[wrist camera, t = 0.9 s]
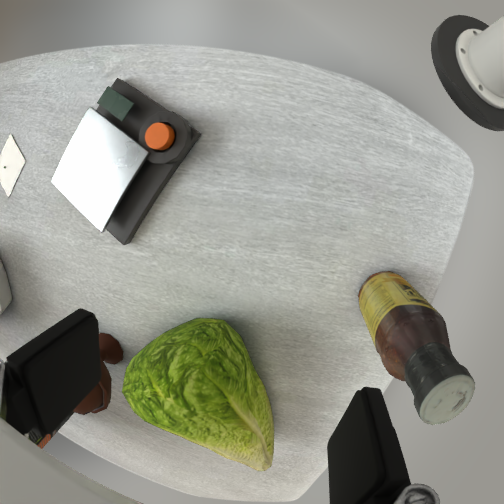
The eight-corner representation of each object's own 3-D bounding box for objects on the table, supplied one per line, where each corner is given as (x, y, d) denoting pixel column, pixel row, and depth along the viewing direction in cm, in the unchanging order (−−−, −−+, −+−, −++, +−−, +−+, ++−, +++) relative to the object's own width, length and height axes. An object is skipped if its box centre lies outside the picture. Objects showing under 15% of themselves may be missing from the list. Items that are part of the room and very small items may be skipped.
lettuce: (315, 420, 39) (232, 435, 43) (234, 290, 33) (143, 326, 38) (308, 501, 25) (209, 504, 30) (187, 377, 20) (85, 395, 25)
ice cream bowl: (82, 359, 41) (29, 408, 27) (83, 304, 39) (14, 349, 24) (135, 387, 41) (88, 449, 26) (141, 333, 38) (80, 397, 23)
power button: (161, 120, 28) (155, 117, 27) (180, 133, 28) (174, 131, 27) (146, 141, 29) (140, 139, 28) (164, 155, 29) (158, 154, 28)
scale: (124, 78, 30) (111, 72, 27) (206, 133, 31) (197, 129, 28) (64, 181, 34) (50, 182, 32) (131, 245, 35) (118, 250, 32)
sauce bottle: (413, 297, 31) (497, 402, 12) (371, 327, 33) (422, 452, 14) (388, 254, 31) (482, 342, 12) (344, 286, 32) (390, 406, 13)
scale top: (106, 84, 28) (103, 83, 27) (168, 127, 28) (165, 126, 27) (54, 181, 32) (50, 181, 31) (104, 232, 32) (101, 232, 31)
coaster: (25, 161, 35) (22, 161, 34) (8, 197, 37) (5, 198, 36) (10, 133, 34) (7, 133, 33) (-6, 169, 36) (-9, 169, 35)
